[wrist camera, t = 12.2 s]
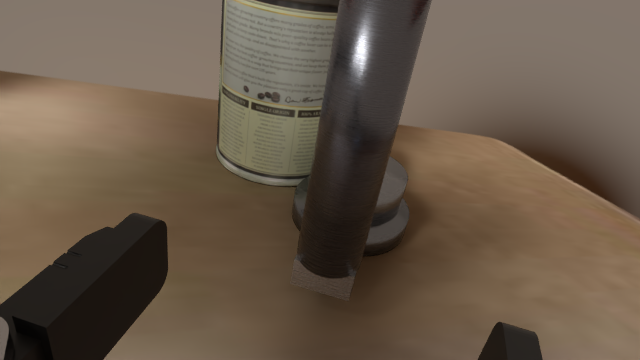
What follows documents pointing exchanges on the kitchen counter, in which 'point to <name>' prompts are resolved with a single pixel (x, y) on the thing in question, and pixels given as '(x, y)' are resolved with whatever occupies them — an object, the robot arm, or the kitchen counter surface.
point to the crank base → (379, 235)
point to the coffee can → (272, 86)
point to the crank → (357, 140)
